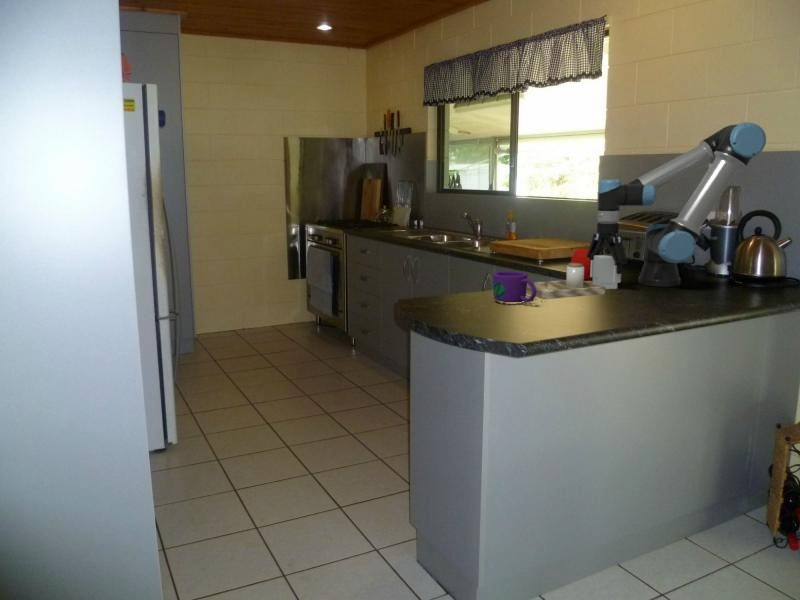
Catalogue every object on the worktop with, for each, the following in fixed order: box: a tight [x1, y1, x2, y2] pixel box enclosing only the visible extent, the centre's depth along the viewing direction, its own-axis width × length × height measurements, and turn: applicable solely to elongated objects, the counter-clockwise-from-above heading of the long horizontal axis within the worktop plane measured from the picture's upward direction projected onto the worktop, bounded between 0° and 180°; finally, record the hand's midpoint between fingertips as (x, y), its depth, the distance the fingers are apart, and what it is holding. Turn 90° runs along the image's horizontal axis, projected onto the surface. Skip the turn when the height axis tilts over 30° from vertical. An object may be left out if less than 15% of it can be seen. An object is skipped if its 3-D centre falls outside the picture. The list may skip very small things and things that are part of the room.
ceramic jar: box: [565, 262, 585, 289], centre depth 232 cm, size 6×6×10 cm
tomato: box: [570, 245, 593, 281], centre depth 258 cm, size 13×11×14 cm
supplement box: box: [592, 254, 618, 290], centre depth 239 cm, size 7×7×13 cm
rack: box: [526, 279, 606, 301], centre depth 231 cm, size 25×18×4 cm
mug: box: [492, 270, 537, 303], centre depth 217 cm, size 17×11×10 cm, turn 36°
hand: (605, 279), depth 240 cm, fingers open, 13 cm apart
